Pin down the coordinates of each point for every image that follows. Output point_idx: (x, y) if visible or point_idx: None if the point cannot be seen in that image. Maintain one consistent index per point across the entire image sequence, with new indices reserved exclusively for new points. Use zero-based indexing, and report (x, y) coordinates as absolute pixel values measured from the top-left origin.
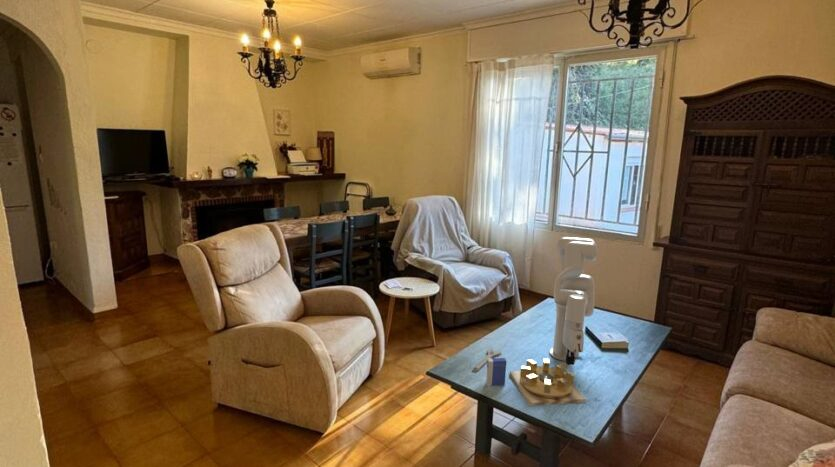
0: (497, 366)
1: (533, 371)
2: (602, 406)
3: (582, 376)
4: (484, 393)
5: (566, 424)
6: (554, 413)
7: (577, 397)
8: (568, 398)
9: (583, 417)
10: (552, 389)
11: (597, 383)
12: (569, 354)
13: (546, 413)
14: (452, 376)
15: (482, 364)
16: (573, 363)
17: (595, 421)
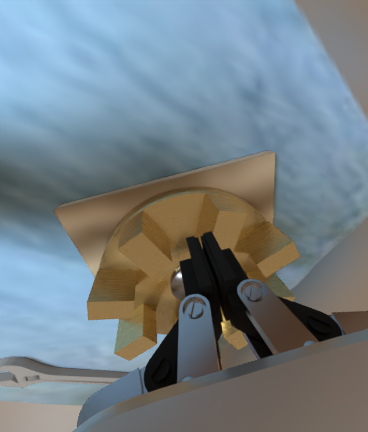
0: None
1: (153, 311)
2: (298, 85)
3: (61, 97)
4: (220, 351)
5: (342, 225)
6: (300, 245)
7: (263, 180)
8: (265, 210)
9: (332, 177)
10: (254, 265)
11: (114, 23)
12: (264, 342)
13: (296, 260)
14: None
15: (110, 378)
16: (213, 238)
17: (357, 146)
